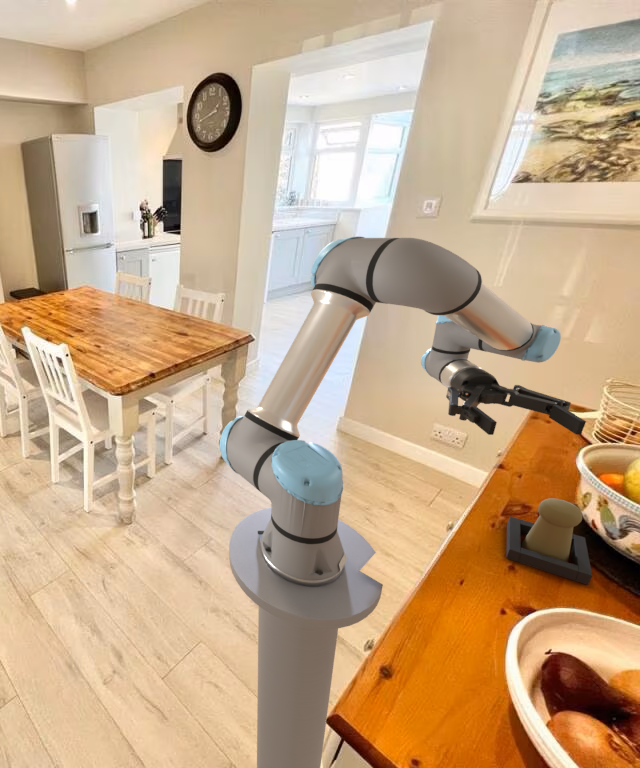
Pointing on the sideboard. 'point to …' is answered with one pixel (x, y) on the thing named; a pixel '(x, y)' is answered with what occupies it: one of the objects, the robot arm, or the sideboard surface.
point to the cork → (553, 529)
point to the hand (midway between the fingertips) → (536, 428)
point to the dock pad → (573, 571)
